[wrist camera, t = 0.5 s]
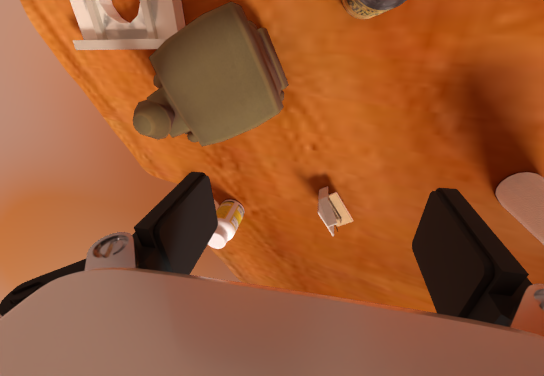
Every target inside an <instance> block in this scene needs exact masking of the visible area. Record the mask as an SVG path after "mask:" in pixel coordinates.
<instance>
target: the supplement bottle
mask: <svg viewBox="0 0 544 376" xmlns="http://www.w3.org/2000/svg"><path fill="white" fill-rule="evenodd" d="M216 214H217V219H218V226H217V229H216V231H215V232H214V234H213V236H212V237H211V239H210V241H209V242H208V245H209V246H211V247H213V248H216V249H220V248H223V247H224V246H225V244H226V242H227V241H229V240H231V239H232V238H233V236H234V234H235V232H236V230H237V228H238V226H239V224H240V222H241V220H242V218H243V215H244V208H243V206H242V205H241V204H240V203H239V202H237V201H235V200H225V201H223V202H222V203H221V205H220V206H219V208H218V210H217V211H216Z"/></svg>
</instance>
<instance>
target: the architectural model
mask: <svg viewBox="0 0 544 376" xmlns="http://www.w3.org/2000/svg"><path fill="white" fill-rule="evenodd" d="M318 214H319V216H320V217H321V219H322V220H323V222H324V223H325V225H326V226H327V228H328V229H329V231H330V233H331V234H332V236H334V225H335V226H336V225H337V227H338V226H341V225H344V224H347V223H350V222H353V219H352V217H351V216H350V214H349V212H348V210H347V209H346V207H345V205H344V204H343V202H342V200H341V199H340V197H339V195H338V194H337V192H335V193H331V194H330V195H328V186H326V187H324V188H322V189H320V191H319V199H318ZM337 227H336V229H337ZM337 231H338V230H337Z"/></svg>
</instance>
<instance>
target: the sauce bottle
mask: <svg viewBox="0 0 544 376" xmlns="http://www.w3.org/2000/svg"><path fill="white" fill-rule="evenodd" d="M405 1H406V0H342V4H343V6H344V8H345V9H346V11H347V12H348V13H349V14H350V15H351V16H353V17H355V18H358V19H368V18H372V17H374V16H377V15H379V14H381V13H384V12H386V11H388V10H391V9H393V8H395V7H397V6H399V5H401V4H402V3H404V2H405Z"/></svg>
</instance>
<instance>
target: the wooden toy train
mask: <svg viewBox="0 0 544 376" xmlns="http://www.w3.org/2000/svg"><path fill="white" fill-rule="evenodd" d="M149 59H150V61H151V63H152V65H153V67H154V69H155V71H156V75H155V76H154V85H155V86H156V87H157V88H159V89H158V90H157V91H155V92H154V93H153V94H151V95H150V96H149V97H147V100H145V101H142V102H139V103H138V105H137V107H136V108H135V111H134V117H133V125H134V127H135V129H136V130H137V131H138V132H139V133H140V134H142V135H145V136H148V137H152V138H155V139H162V138H166V137H167V136H168V134H170V135H171V137H175V136H179V135H181V134H183V133H185V134H188V135H187V137H188V140H190V141H191V142H198V141H199V143H200V144H201V146H206V145H210V144H214V143H219V142H223V141H225V140H227V139H230V138H232V137H234V136H237V135H239V134H241V133H244V132H246V131H249V130H251V129H253V128H256V127H258V126H259V125H261V124H262V123H264V122H266V121H267V120H269V119H270V118H272V117H274V116H275V115H277V114H279V113H280V111H281V110H282V108H283V104H282V101H283V99H284V92H283V91H282V90H283V89H285V88H286V87H287V86H288V85H289V84H288V82H287V79H286V77H285V74H284V72H283V69H282V67H281V64H280V62H279V59H278V57H277V54H276V52H275V49H274V46H273V44H272V41H271V39H270V36H269V34H268V31H267V29H266V28H259V29H257V26H256V25H255V24H254V23H253V22H251V21H248V20H247V18H246V15H245V13H244V11H243V9H242V7H241V6H240V5H238V4H235V3H233V2H229V3H227V4H225V5H222V6H220V7H218V8H216V9H213V10H211V11H209V12H207V13H205V14H202V15H201V16H199V17H198V18H197V19H195V20H194V21H192V22H191V23H189V24H188V25H187V26H185V27H184V28H182V29H181V30H179V31H178V32H177V33H175V34H174V35H172V36H171V37H169V38H168V39H167V40H165V41H164V42H163V44H162V45H161V46H160V47H159V48H158V49H157V50H156V51H155V52H154V53H153V54H152V55H151V56H150V57H149Z"/></svg>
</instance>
